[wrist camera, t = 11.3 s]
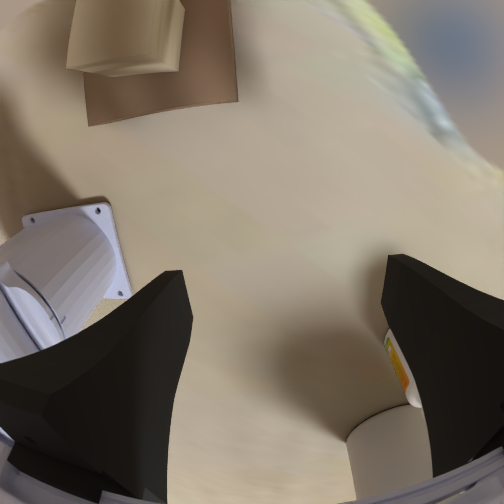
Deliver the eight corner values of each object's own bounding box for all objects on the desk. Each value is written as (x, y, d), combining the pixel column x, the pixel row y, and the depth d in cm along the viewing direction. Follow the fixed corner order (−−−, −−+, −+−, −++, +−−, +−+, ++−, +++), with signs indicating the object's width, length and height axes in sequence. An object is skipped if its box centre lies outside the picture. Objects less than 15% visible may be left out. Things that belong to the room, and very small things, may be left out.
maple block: (113, 77, 13) (65, 68, 9) (120, 17, 12) (78, -8, 7) (178, 71, 14) (148, 53, 9) (185, 9, 12) (159, -27, 7)
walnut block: (109, 123, 18) (88, 126, 15) (103, 12, 14) (83, 1, 11) (238, 102, 17) (235, 99, 14) (229, -17, 13) (224, -36, 10)
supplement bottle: (410, 356, 26) (444, 430, 18) (372, 347, 26) (404, 432, 17) (441, 316, 24) (488, 388, 15) (404, 303, 23) (453, 386, 15)
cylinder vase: (442, 396, 31) (497, 544, 8) (403, 441, 36) (435, 566, 14) (365, 406, 30) (405, 593, 8) (333, 451, 36) (352, 595, 13)
